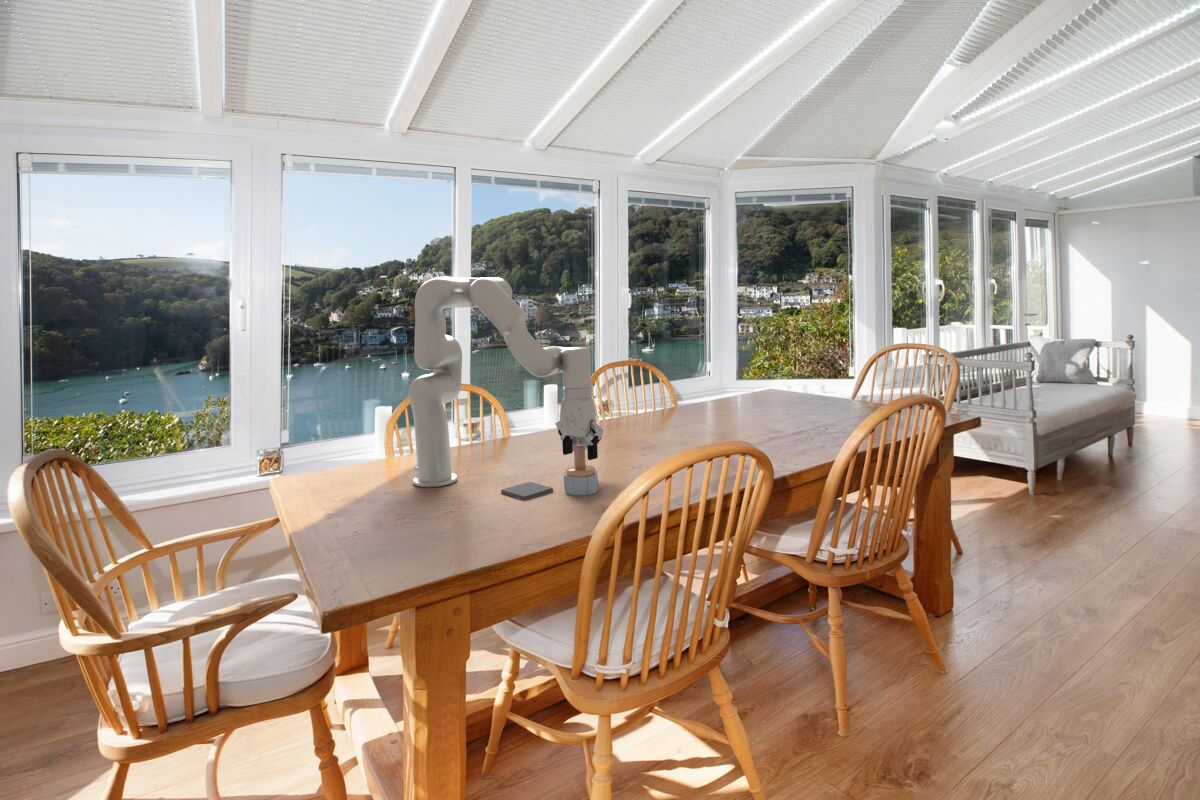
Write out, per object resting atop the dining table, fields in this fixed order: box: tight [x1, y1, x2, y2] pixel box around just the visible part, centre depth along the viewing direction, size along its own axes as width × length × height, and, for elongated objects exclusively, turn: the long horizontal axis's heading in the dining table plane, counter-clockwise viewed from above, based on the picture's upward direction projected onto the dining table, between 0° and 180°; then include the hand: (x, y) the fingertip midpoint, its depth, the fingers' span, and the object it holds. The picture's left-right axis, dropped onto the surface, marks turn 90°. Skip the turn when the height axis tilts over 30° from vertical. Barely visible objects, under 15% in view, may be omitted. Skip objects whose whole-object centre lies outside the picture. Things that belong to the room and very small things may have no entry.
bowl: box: [563, 470, 599, 497], centre depth 185 cm, size 9×9×5 cm
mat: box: [500, 481, 554, 501], centre depth 186 cm, size 10×10×1 cm
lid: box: [565, 444, 596, 477], centre depth 184 cm, size 8×8×8 cm
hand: (580, 456), depth 184 cm, fingers open, 9 cm apart
